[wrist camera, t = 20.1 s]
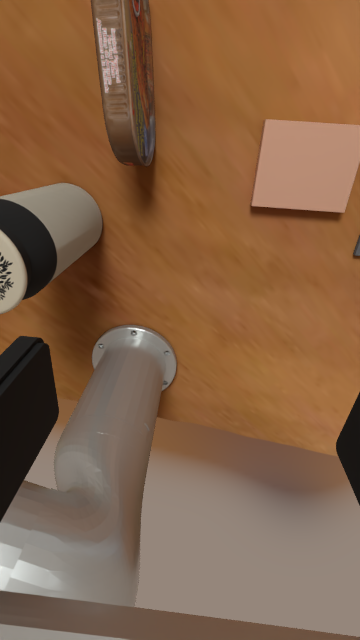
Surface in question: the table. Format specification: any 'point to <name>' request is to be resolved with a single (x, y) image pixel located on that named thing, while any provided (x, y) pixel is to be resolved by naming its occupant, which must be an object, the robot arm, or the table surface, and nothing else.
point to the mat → (357, 248)
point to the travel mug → (43, 237)
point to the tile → (306, 165)
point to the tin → (126, 77)
